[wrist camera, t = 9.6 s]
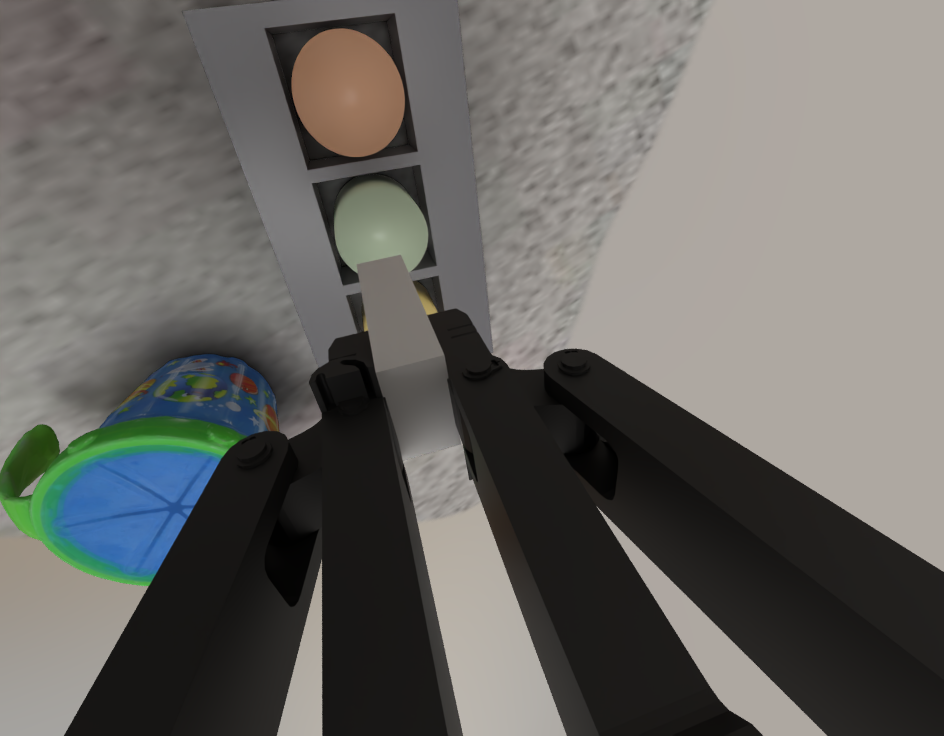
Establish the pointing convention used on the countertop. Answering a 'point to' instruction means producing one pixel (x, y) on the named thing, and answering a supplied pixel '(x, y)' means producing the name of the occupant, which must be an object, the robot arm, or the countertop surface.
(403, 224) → the button sage
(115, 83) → the countertop surface
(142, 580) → the snack cup
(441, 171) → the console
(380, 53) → the button terracotta
